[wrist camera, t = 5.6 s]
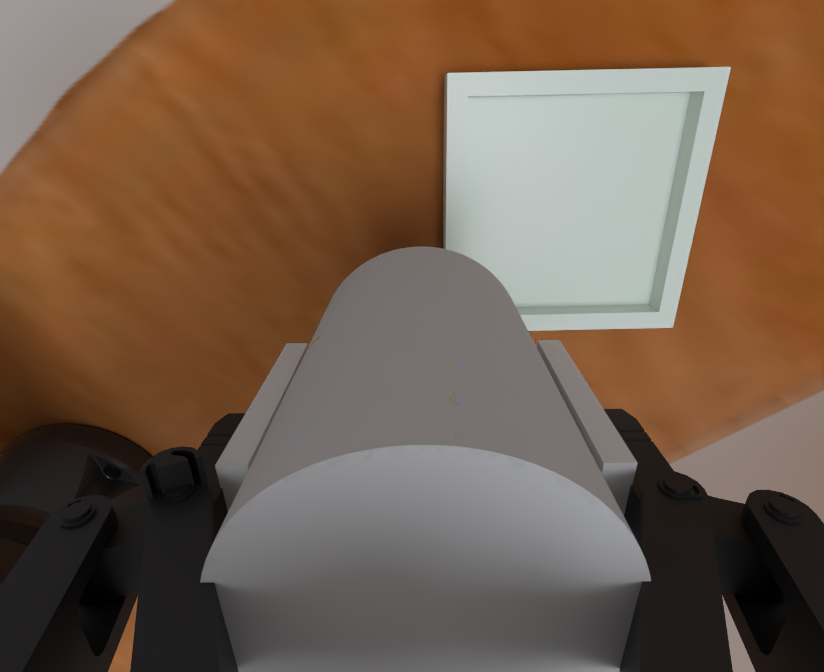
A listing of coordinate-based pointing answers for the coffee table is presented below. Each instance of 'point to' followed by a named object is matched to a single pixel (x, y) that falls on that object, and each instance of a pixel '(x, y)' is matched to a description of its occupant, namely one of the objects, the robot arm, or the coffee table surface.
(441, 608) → the cup
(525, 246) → the tray
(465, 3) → the coffee table surface
